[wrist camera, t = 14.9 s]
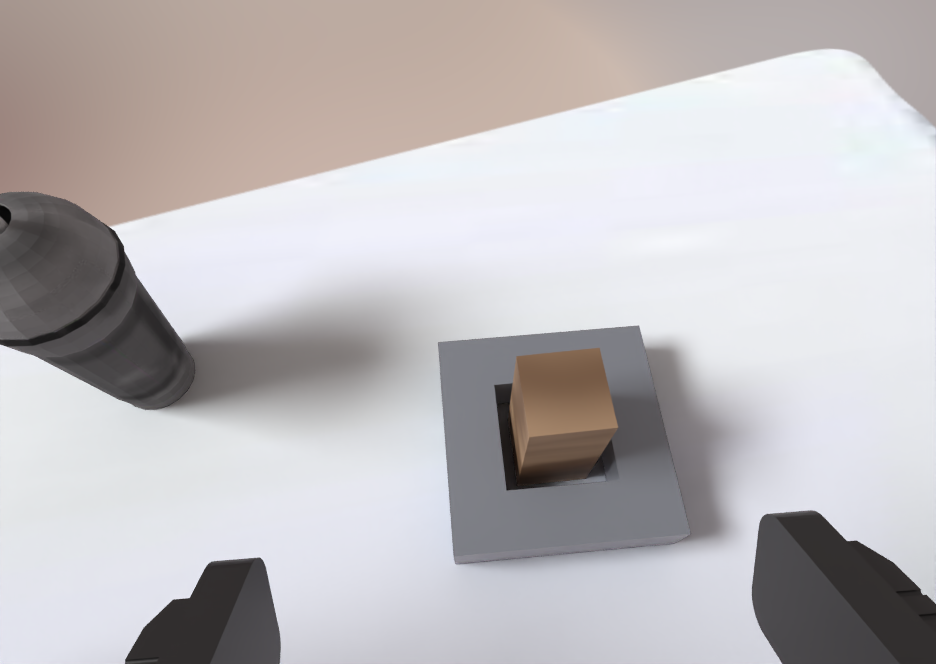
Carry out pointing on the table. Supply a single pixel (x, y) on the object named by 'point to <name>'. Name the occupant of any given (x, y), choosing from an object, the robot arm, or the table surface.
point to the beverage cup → (84, 303)
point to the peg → (559, 415)
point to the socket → (569, 506)
